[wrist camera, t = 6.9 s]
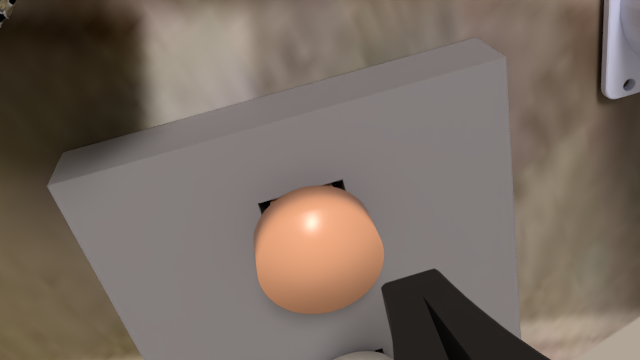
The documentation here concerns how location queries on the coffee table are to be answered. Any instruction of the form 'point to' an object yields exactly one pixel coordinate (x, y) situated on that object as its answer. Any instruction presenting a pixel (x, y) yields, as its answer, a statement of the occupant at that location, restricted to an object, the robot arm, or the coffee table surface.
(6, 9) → the cup
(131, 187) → the button panel
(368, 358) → the white rounded piece
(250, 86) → the coffee table surface
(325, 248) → the terracotta button
